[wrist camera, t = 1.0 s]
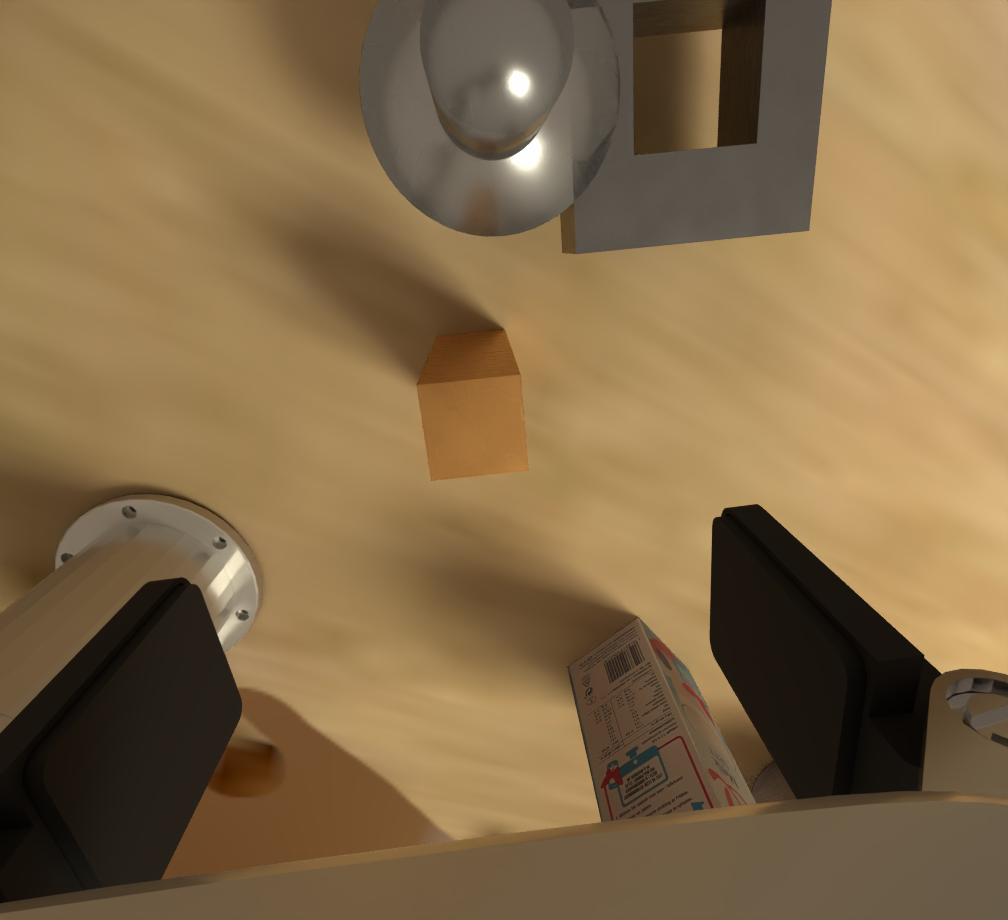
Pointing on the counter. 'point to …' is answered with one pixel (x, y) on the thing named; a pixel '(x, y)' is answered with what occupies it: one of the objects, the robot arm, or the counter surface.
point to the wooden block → (472, 407)
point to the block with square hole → (591, 118)
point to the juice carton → (650, 731)
